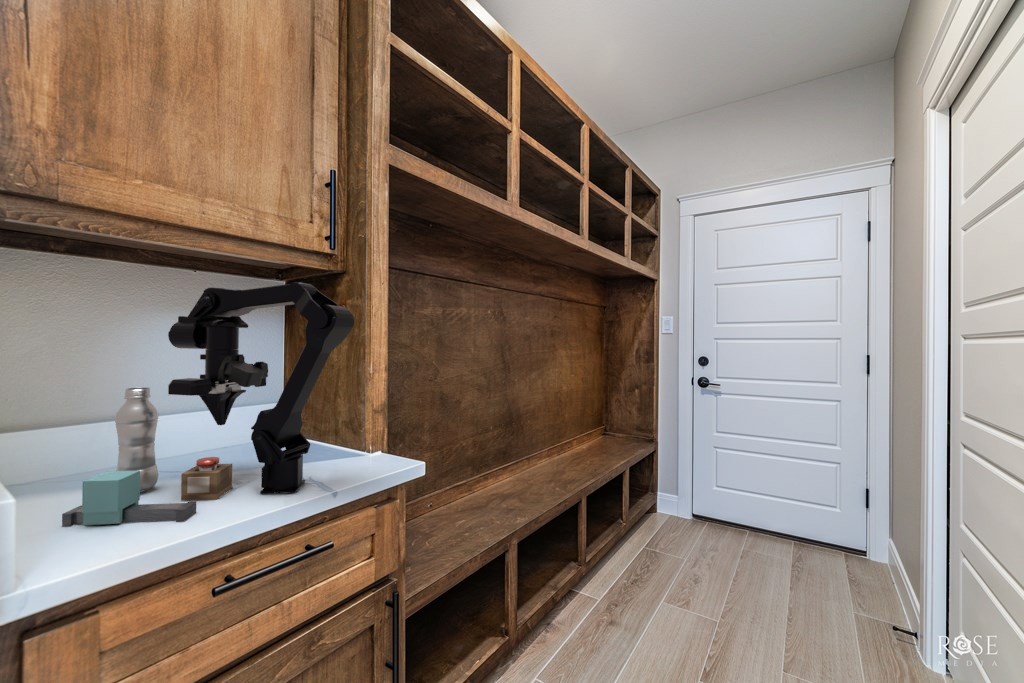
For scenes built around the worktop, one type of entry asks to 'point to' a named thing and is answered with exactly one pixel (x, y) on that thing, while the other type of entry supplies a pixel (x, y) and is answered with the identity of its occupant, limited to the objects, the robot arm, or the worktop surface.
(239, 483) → the worktop surface
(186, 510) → the rail
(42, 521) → the worktop surface
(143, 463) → the plastic bottle
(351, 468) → the worktop surface
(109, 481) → the carriage
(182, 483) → the brown button housing
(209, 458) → the button
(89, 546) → the worktop surface
